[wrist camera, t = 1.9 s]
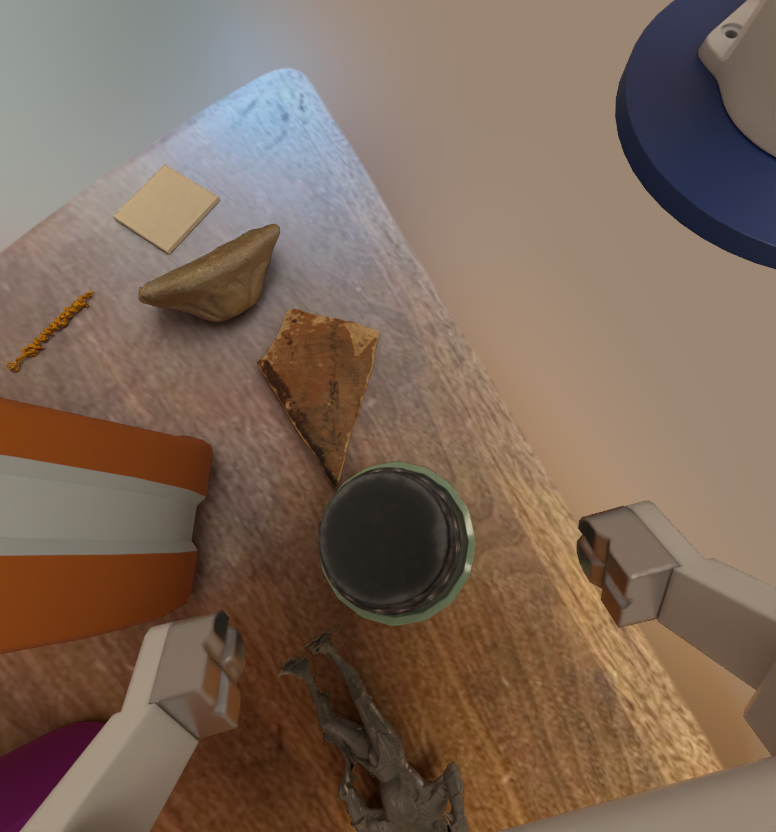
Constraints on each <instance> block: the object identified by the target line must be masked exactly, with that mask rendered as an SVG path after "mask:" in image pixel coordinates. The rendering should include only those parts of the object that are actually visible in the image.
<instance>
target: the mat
mask: <svg viewBox="0 0 776 832" xmlns="http://www.w3.org/2000/svg"><path fill="white" fill-rule="evenodd" d="M219 201H220V199H219V197H218V196H217V195H215V194H213V193H212V192H210V191H208V190H207V189H205V188H203V187H202V186H200V185H198V184H196V183H195V182H193V181H191V180H190V179H188V178H186V177H185V176H183V175H181V174H180V173H178V172H176V171H175V170H173V169H171V168H170V167H168V166H166V165H164V166H163V167H162V168H161V169H160V170H159V171H158V172H157V173H156V174H155V175H154V176H153V177H152V178H151V179H150V180H149V181H148V182H147V183H146V184H145V185H144V186H143V187H142V188H141V189H140V190H139V191H138V192H137V193H136V194H135V195H134V196H133V197H132V198H131V199H130V200H129V201H128V202H127V203H126V204H125V205H124V206H123V207H122V208H121V209H120V210H119V211H118V212H117V213H116V214H115V215H114V216H113V217H114V218H115V219H116V220H117V221H119V222H120V223H122V224H123V225H125V226H126V227H128V228H129V229H131V230H132V231H134V232H135V233H137V234H138V235H140V236H141V237H143V238H145V239H146V240H148V241H149V242H151V243H152V244H154V245H155V246H157V247H158V248H160V249H161V250H163V251H164V252H166V253H167V254H170V253H171V252H172V251H173V250H174V249H175V248H176V247H177V246H178V245H179V244H180V243H181V242H182V241H183V239H184V238H185V237H186V236H187V235H188V234H189V233H190V232H191V231H192V230H193V229H194V228H195V227H196V226H197V224H198V223H199V222H200V221H201V220H202V219H203V218H204V217H205V216H206V215H207V214H208V213H209V212H210V211H211V209H212V208H213V207H214V206H215V205H216V204H217V203H218V202H219Z"/></svg>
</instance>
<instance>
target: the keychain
mask: <svg viewBox="0 0 776 832" xmlns="http://www.w3.org/2000/svg"><path fill="white" fill-rule="evenodd" d="M92 293H94V292H93V291H91V292H88V293H86V294H84V295H83V296H79V297H78V299H79V300H77V301H74V304H72V306H69V307H68V308H63V310H65V311H66V312H62V313H61V314H60V317H59V318H56V319H54V322H55V323H50V324H49V325H50V327H48V328H44V329H43V331H44V333H40V336H39V337H40V338H35V339H34V340H33V342H34V343H32V344H29V345H28V347H25V348H23V349H22V351H23V352H22V355H23V356H20V357H18V358H16V359H15V361H17V362H16V363H15V362H8V363H7V364H6V365H7V367H8V368H9V369H10V370H12V371H19V370H20V366H19V365H18V363H19V362H20V361H21V360H22V359H24V358H25V357H35V356H37V355H38V354H37V353H38V352H39V351H37V350H39V349H43V347H41V346H40V344H39V342H38V341H41V342H46V341H45V340H47V339H48V337H47V336H46V335H54V333H52V331H55V330H60V328H59V326H61V327H65V326H67V325H66V324H67V323H68V321H67V319H66V318H70V317H72V316H73V315H72V314H73V313H74V312H78V311H77V310H80V309H81V307H82V306H84V307H89V305H87V304H86V302H85V301H84V300H83V299H89V298H90V297H92V296H93V295H92ZM61 320H63V321H61ZM58 325H59V326H58ZM28 349H31V350H28ZM35 349H36V350H35ZM34 353H35V354H34ZM9 364H13V365H12V366H11V367H9ZM16 366H17V367H18V368H17V369H16V370H15V369H14V368H15V367H16Z"/></svg>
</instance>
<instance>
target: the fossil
mask: <svg viewBox="0 0 776 832" xmlns="http://www.w3.org/2000/svg"><path fill="white" fill-rule="evenodd" d="M279 234H280V227H279V226H278V225H277V224H271V225H267V226H265V227H263V228H258V229H253V230H250V231H248V232H246V233H244V234H242V235H241V236H239V237H238V238H236V239H234V240H232V241H230V242H228V243H226V244H223V245H222V246H220V247H217V249H215V250H214V251H212V252H210V253H208V254H206V255H204V256H202V257H200V258H198V259H197V260H195V261H193V262H191V263H188V264H186V265H184V266H182V267H180V268H177V269H175V270H172V271H171V272H169V273H166V274H165V275H163V276H161V277H159V278H157V279H155V280H153V281H150V282H148V283H146V284H145V285H144V286H143V287H140V288H139V293H138V299H139V301H141V302H142V303H145V304H149V305H152V306H155V307H161V308H167V309H171V310H177V311H182V312H186V313H191V314H193V315H196V316H198V317H200V318H202V319H205V320H208V321H212V322H220V321H226V320H229V319H230V318H232V317H233V316H238V315H240V314H241V313H242V312H243V311H244V310H246V309H249V308H251V307H252V306H253V305H255V304H256V303H257V301H258V300H259V298H260V295H261V292H262V287H263V283H264V276H265V274H266V271H267V268H268V265H269V262H270V258H271V254H272V251H273V248H274V246H275V244H276V242H277V239H278V237H279Z"/></svg>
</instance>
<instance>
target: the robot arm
mask: <svg viewBox="0 0 776 832" xmlns="http://www.w3.org/2000/svg"><path fill="white" fill-rule="evenodd" d="M698 56H699V59H700V60H701V62H702V63H703V64H704V66H705V67H706V68H707V69H708V70H709V72H710V73H711V74H712V75H713V76H714V77H715V78H716V80H717V82H718V85H719V88H720V92H721V97H722V101H723V103H724V106H725V108H726V111H727V113H728V114H729V116H730V118H731V119H732V121H733V122H734V124H735V125H736V126H737V127H738V129H739V130H740V131H741V132H742V133H743V134H744V135H745V136H746V137H747V138H748V139H749V140H751V141H752V142H753V143H754V144H756V145H757V146H758V147H760V148H761V149H763V150H764V151H766V152H767V153H769V154H771V155H773V156H774V157H776V0H747V1H746V2H745V3H743V4H742V5H741V6H740V7H739V8H738V9H737V10H736V11H734V12H733V13H732V14H731V15H730V16H729V17H728V18H726V19H725V20H724V21H723V22H722V23H721V24H720V25H718V26H717V27H716V28H715V29H714V30H713V31H712V32H711V33H709V35H708V36H707V37H706V39H705V40H704V42H703V43H702V45H701V46H700V48H699V49H698ZM578 529H579V530H580V532H581V533H582V536H581V537H580V538H579V539H578V541H577V555H578V559H579V563H580V565H581V567H582V569H583V571H584V573H585V575H586V576H587V578H588V580H589V581H590V582H591V583H593V584H594V585H596V586H598V587H600V588H601V589H602V594H601V601H602V602H603V604H604V606H605V607H606V609H607V610H608V612H609V614H610V615H611V617H612V618H613V620H614V621H615V623H616V625H617V626H618V628H620V627H624V626H629V625H633V624H637V623H641V622H646V621H650V620H654V619H658V620H657V621H658V622H659V623H661V624H662V625H664V626H665V627H666V628H668V629H669V630H671V631H672V632H674V633H675V634H676V635H678V636H679V637H681V638H682V639H684V640H685V641H687V642H688V643H689V644H691V645H692V646H694V647H695V648H697V649H698V650H699V651H701V652H703V653H704V654H705V655H707V656H708V657H709V658H711V659H713V660H714V661H715V662H717V663H718V664H719V665H721V666H722V667H724V668H725V669H727V670H728V671H729V672H731V673H732V674H734V675H735V676H737V677H738V678H740V679H741V680H742V681H744V682H745V683H747V684H748V685H750V686H751V687H752V688H754V689H755V690H756V692H755V694H754V695H753V696H752V698H751V700H750V701H749V703H748V704H747V705H746V707H745V710H744V715H743V716H744V718H745V720H746V721H747V722H748V724H749V725H750V727H751V728H752V729H753V731H754V732H755V733H756V735H757V736H758V737H759V739H760V740H761V742H762V743H763V744H764V746H765V747H766V749H767V750H768V751H769V753H770V754H771V755H772V757H768V758H764V759H761V760H757V761H753V762H750V763H746V764H743V765H739V766H735V767H731V768H727V769H724V770H720V771H716V772H713V773H709V774H705V775H702V776H698V777H694V778H691V779H687V780H683V781H680V782H676V783H672V784H669V785H665V786H661V787H658V788H654V789H650V790H647V791H643V792H639V793H636V794H632V795H628V796H625V797H621V798H617V799H614V800H610V801H606V802H603V803H599V804H595V805H592V806H588V807H584V808H581V809H577V810H573V811H570V812H566V813H562V814H559V815H555V816H551V817H548V818H544V819H540V820H537V821H533V822H529V823H526V824H522V825H518V826H515V827H511V828H507V829H504V830H500V831H496V832H776V587H774V586H772V585H769V584H767V583H765V582H763V581H761V580H759V579H757V578H754V577H752V576H750V575H748V574H746V573H744V572H742V571H739V570H737V569H735V568H733V567H731V566H728V565H727V564H724V563H722V562H720V561H718V560H716V559H714V558H711V559H705V558H704V557H703V556H702V555H701V554H700V553H699V552H698V551H697V550H696V549H695V548H694V547H693V545H692V544H691V543H690V542H689V541H688V540H687V539H686V538H685V537H684V536H683V534H682V533H681V532H680V531H679V530H678V529H677V528H676V527H675V526H674V525H673V524H672V523H671V522H670V520H669V519H668V518H667V517H666V516H665V515H664V514H663V513H662V512H661V511H660V510H659V509H658V508H657V506H656V505H655V504H654V503H652V502H650V501H642V502H639V503H635V504H632V505H628V506H625V507H624V506H622V507H617V508H614V509H610V510H607V511H603V512H599V513H596V514H592V515H589V516H585V517H582V518H581V519H580V520H579V526H578ZM228 621H229V617H228V616H227V615H226V614H225V613H224V611H223V610H220V611H216V612H212V613H208V614H204V615H199V616H195V617H191V618H187V619H183V620H178V621H173V622H169V623H166V624H162V625H158V626H154V627H151V628H150V629H149V630H148V632H147V633H146V635H145V636H144V639H143V642H142V646H141V649H140V652H139V655H138V658H137V662H136V665H135V668H134V671H133V674H132V678H131V681H130V684H129V687H128V690H127V694H126V697H125V700H124V703H123V706H122V709H121V712H118V713H115V714H113V715H112V716H111V718H110V719H109V720H108V721H107V723H106V724H105V725H104V726H103V728H102V729H101V730H100V731H99V733H98V734H97V735H96V736H95V738H94V739H93V740H92V741H91V743H90V744H89V745H88V747H87V748H86V749H85V750H84V752H83V753H82V754H81V755H80V757H79V758H78V759H77V760H76V762H75V763H74V764H73V765H72V767H71V768H70V769H69V770H68V772H67V773H66V774H65V775H64V777H63V778H62V779H61V780H60V782H59V783H58V784H57V785H56V787H55V788H54V789H53V790H52V792H51V793H50V794H49V795H48V797H47V798H46V799H45V800H44V802H43V803H42V804H41V805H40V807H39V808H38V809H37V810H36V812H35V813H34V814H33V815H32V817H31V818H30V819H29V820H28V822H27V823H26V824H25V825H24V827H23V828H22V829H21V830H20V832H150V831H151V829H152V827H153V825H154V824H155V822H156V820H157V818H158V816H159V814H160V813H161V811H162V809H163V807H164V805H165V803H166V802H167V800H168V798H169V796H170V794H171V792H172V790H173V789H174V787H175V785H176V783H177V781H178V779H179V778H180V776H181V774H182V772H183V770H184V768H185V767H186V765H187V763H188V761H189V759H190V757H191V756H192V754H193V752H194V750H195V748H196V746H197V745H198V743H199V741H198V739H201V738H205V737H208V736H211V735H215V734H218V733H222V732H225V731H229V730H232V729H235V728H238V723H239V714H240V705H241V696H242V693H241V691H240V690H239V688H238V687H237V685H236V683H237V682H238V680H239V679H240V677H241V676H242V674H243V673H244V668H245V648H244V642H243V639H242V636H241V634H240V633H239V631H238V630H237V629H236V628H234V627H231V626H228Z"/></svg>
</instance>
